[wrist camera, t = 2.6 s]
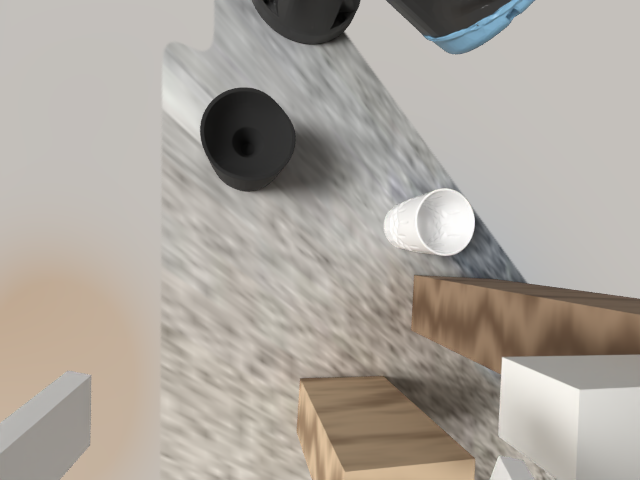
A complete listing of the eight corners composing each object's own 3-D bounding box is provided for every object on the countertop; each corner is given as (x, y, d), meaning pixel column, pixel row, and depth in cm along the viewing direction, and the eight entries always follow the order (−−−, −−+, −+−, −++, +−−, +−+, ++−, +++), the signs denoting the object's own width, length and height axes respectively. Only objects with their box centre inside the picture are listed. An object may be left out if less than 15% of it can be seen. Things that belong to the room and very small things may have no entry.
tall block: (414, 275, 49) (672, 320, 20) (495, 279, 53) (816, 322, 24) (411, 330, 49) (667, 456, 20) (492, 330, 52) (813, 439, 23)
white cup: (433, 207, 50) (481, 198, 40) (422, 259, 50) (467, 262, 40) (386, 192, 48) (423, 180, 39) (373, 246, 48) (409, 246, 38)
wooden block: (300, 378, 45) (344, 471, 27) (383, 376, 48) (475, 458, 29) (296, 431, 45) (339, 563, 26) (380, 425, 48) (471, 540, 29)
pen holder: (208, 193, 42) (199, 178, 33) (208, 119, 43) (200, 82, 33) (282, 196, 45) (295, 182, 35) (282, 125, 45) (295, 92, 35)
